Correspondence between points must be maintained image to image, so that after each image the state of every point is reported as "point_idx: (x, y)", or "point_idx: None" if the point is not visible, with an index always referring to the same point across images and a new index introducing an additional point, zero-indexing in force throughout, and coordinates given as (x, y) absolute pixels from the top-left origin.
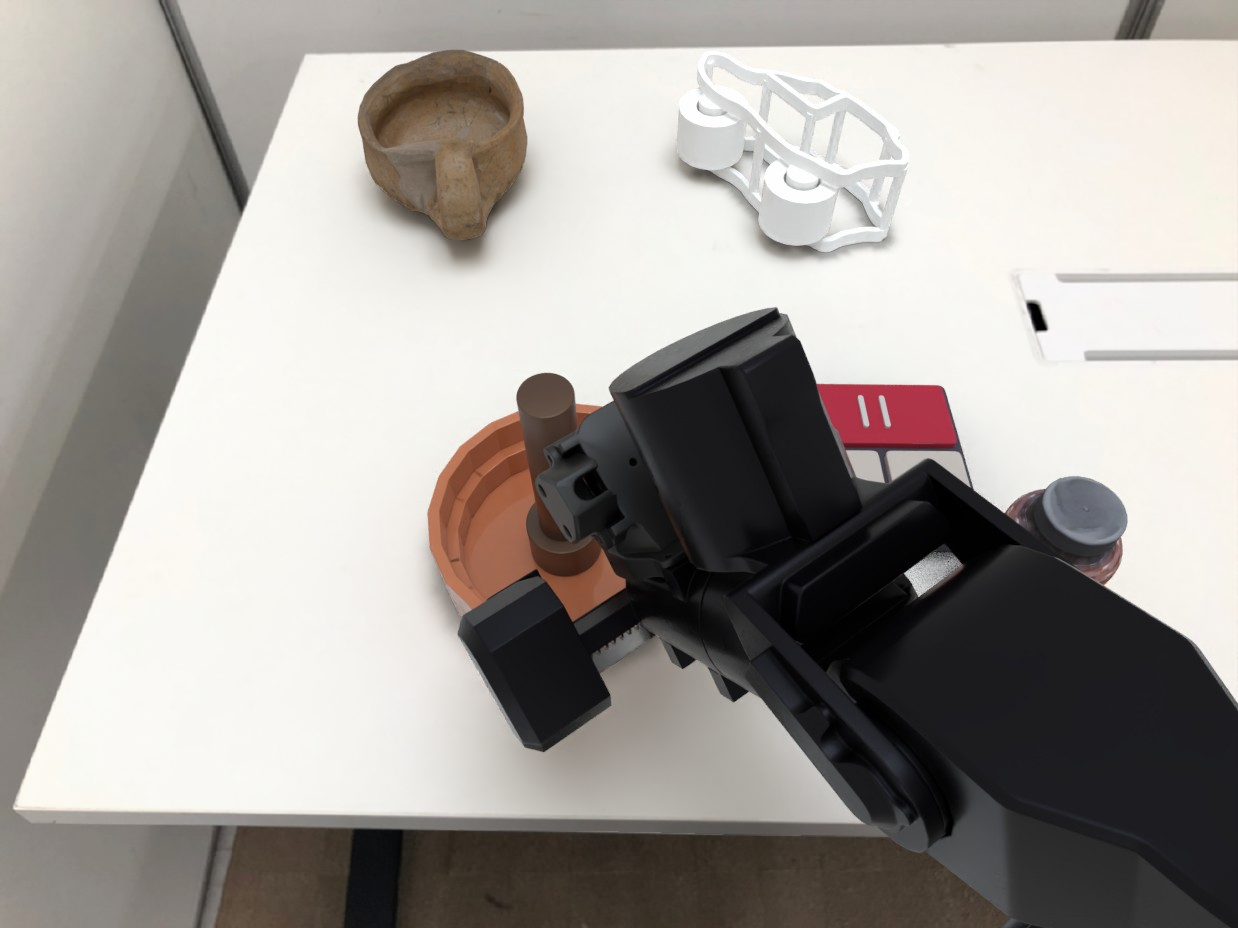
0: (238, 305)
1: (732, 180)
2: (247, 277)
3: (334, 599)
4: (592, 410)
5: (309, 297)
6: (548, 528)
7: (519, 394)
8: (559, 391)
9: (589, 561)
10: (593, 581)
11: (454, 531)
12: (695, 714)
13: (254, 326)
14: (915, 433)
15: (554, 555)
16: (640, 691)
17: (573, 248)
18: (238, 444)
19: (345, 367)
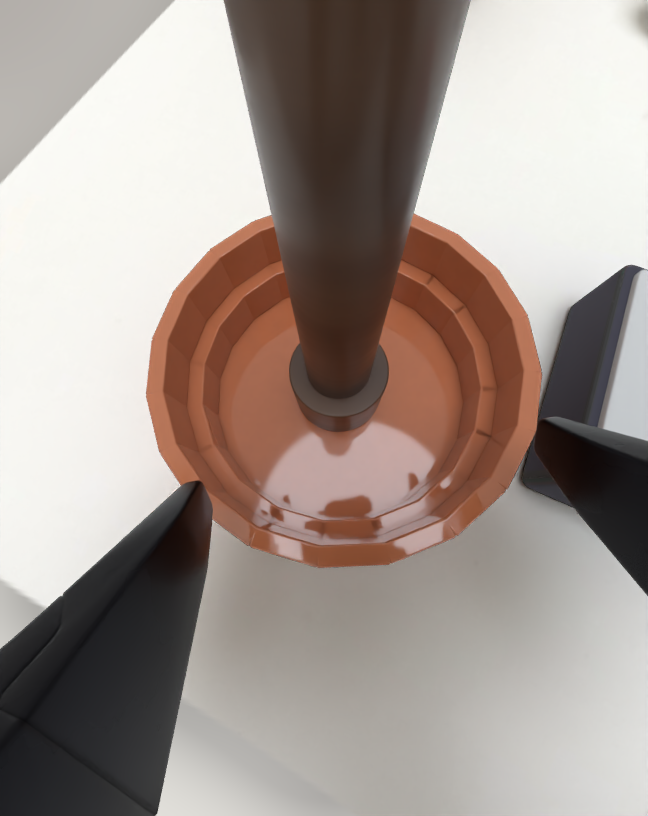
0: (155, 40)
1: None
2: (175, 18)
3: (95, 348)
4: (440, 234)
5: (216, 50)
6: (310, 375)
7: None
8: None
9: (353, 425)
10: (348, 448)
11: (214, 327)
12: (396, 670)
13: (158, 63)
14: None
15: (308, 409)
16: (345, 605)
17: (486, 73)
18: (92, 165)
19: (215, 124)
